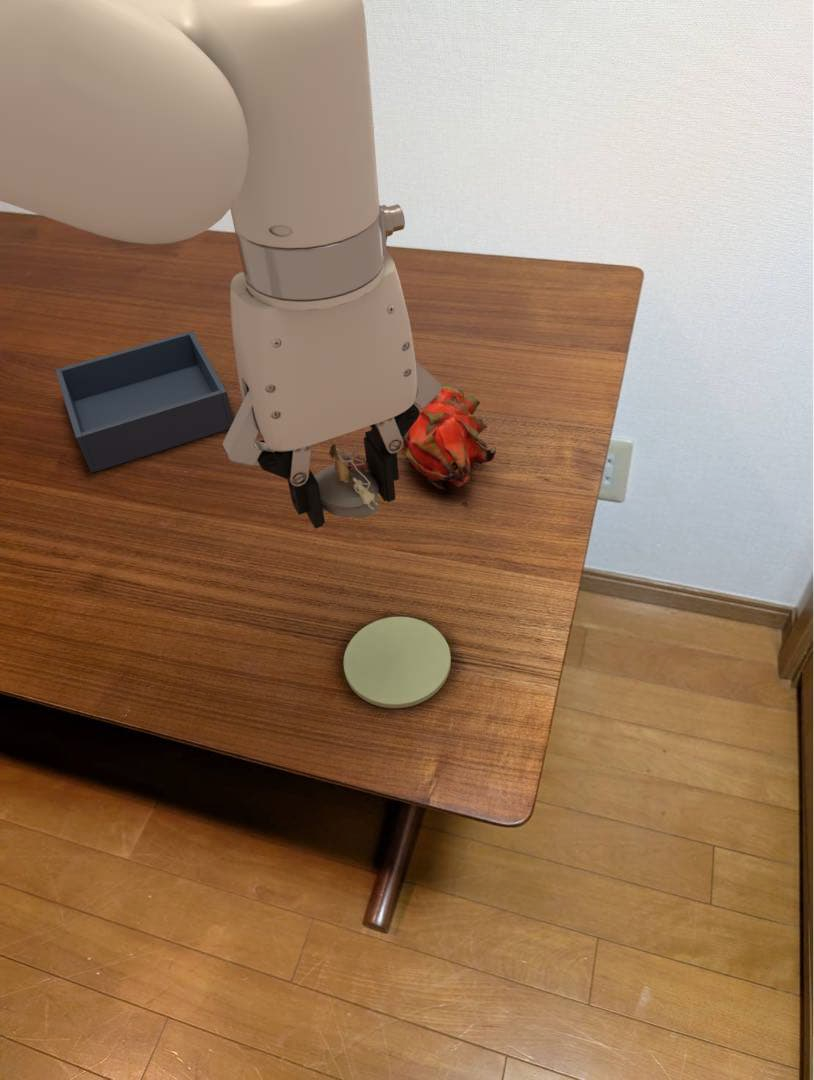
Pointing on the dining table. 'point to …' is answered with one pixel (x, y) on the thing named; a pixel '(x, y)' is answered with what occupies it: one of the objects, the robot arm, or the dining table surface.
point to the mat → (397, 662)
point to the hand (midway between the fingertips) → (347, 499)
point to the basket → (144, 400)
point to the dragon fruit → (447, 439)
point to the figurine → (348, 486)
